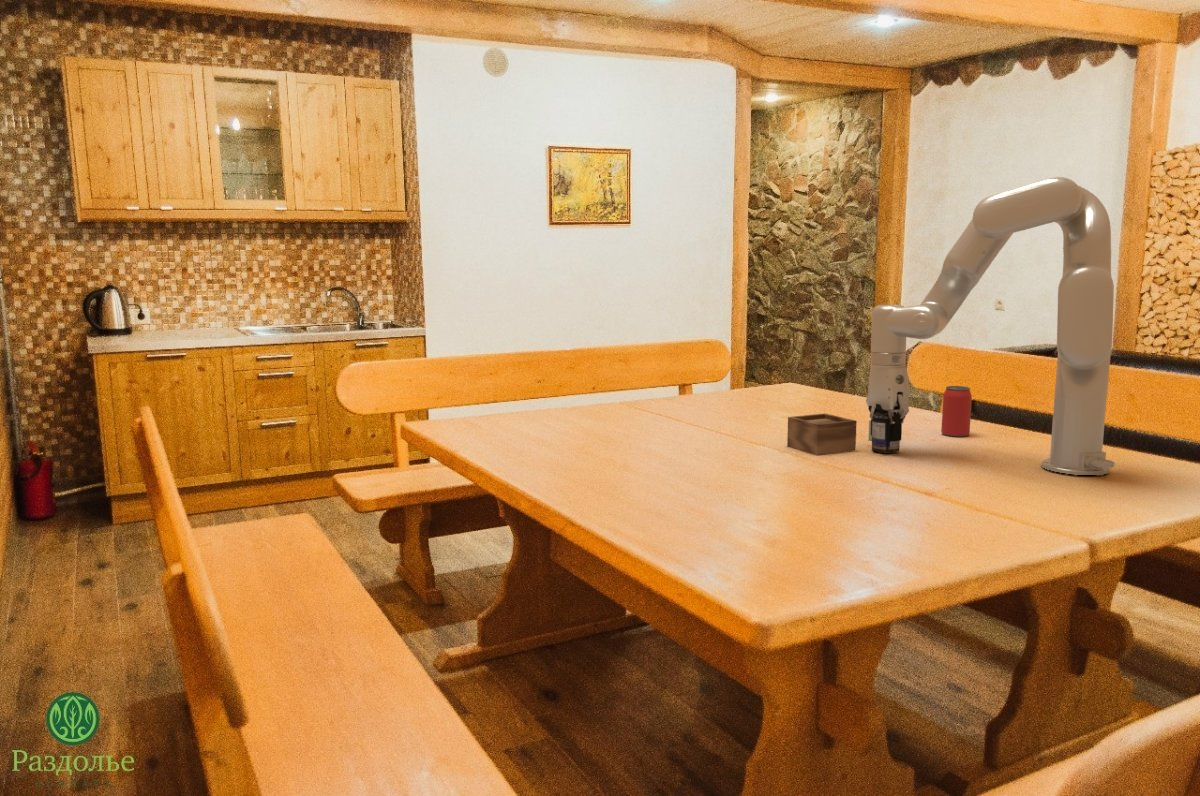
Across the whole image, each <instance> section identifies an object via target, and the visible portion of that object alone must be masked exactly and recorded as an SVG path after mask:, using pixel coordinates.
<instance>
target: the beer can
mask: <svg viewBox="0 0 1200 796" xmlns="http://www.w3.org/2000/svg"><path fill="white" fill-rule="evenodd" d="M970 389H971V388H970V387H968V386H964V385H962V386H961V385H950V386H949V385H948V386H946V387H945V390H944V392H943V395H942V410H941V411H942V413H941V429H940V430H941V433H942V435H943V436H946V437H951V436H952V438H953V437H954V438H965V437H967V436H969V435H970V433H971V432H970V431H971V417H972V415H971V413H972V400H973V399H972V397H973V396H972V392H971V390H970Z"/></svg>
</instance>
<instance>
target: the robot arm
mask: <svg viewBox="0 0 1200 796" xmlns="http://www.w3.org/2000/svg"><path fill="white" fill-rule="evenodd" d="M1051 223H1055V224H1058V225H1059V227H1060V228H1061V231H1062V237H1063V240H1062V241H1063V247H1062V250H1063V251H1062V252H1063V254H1062V255H1063V258H1062V259H1063V264H1062V277H1061V279H1060V281H1059V284H1058V287H1057V288H1058V289H1057V320H1056V322H1057V325H1056V350H1057V361H1056V374H1055V389H1054V396H1053V397H1054V399H1053V410H1052V411H1053V412H1052V422H1051V423H1052V426H1051V427H1052V428H1051V439H1050V450H1049V451H1050V452H1049V457H1048V458H1044V459H1042V460H1041V462H1040V463H1041V464H1040V466H1042V467H1041V468H1042V469H1044V468H1045V469H1044V470H1046V469H1047V470H1046V471H1049V470H1051V471H1050V472H1052V471H1055V472H1054V473H1056V472H1060V473H1059V474H1061V473H1067V474H1066V475H1068V474H1077V475H1101V476H1104V475H1103V474H1106V475H1108V474H1109V473H1110V469H1112V468H1114V467H1115V461H1114V460H1109V459H1106V458H1107V452H1106V451H1103V446H1104V437H1105V436H1104V435H1105V433H1104V432H1105V423H1106V408H1107V398H1108V389H1109V378H1110V367H1111V354H1112V347H1113V328H1114V327H1113V325H1114V297H1115V294H1114V293H1115V292H1114V291H1115V290H1114V289H1115V287H1114V281H1113V278H1112V230H1111V228H1112V227H1111V221H1110V216H1109V214H1108V211H1107V209H1106V207H1105V205H1104V204H1103V203H1102V201H1101V200H1100V199H1099V198H1098V196H1096V195H1095V194H1094V193H1093V192H1091V191H1090V190H1088V189H1086V188H1084V187H1082V186H1081V185H1078V184H1077V183H1076V182H1075V181H1074V180H1072V179H1070V178H1067V177H1064V176H1062V177H1061V176H1056V177H1055V176H1054V177H1050V178H1046V179H1043V180H1041V181H1037V182H1033V183H1030V184H1027V185H1023V186H1020V187H1017V188H1013V189H1010V190H1006V191H1003V192H999V193H995V194H992V195H989V196H986V197H985V198H983V199H981V200H980V201H979V202H978V203H977V205H976V206H975V208H974V209H973V212H972V219H971V220H970V222H969V223H968V224H967V226H966V228H965V229H964V230H963V232H962V233H961V235H960V236H959V237H958V239H957V240H956V242H955V243H954V245H953V246H952V247H951V249H950V250H949V252H947V255H946V256H945V258H944V260H943V263H942V268H941V271H940V273H939V276H938V277H937V279H936V281H935V283H934V284H933V286H932V287H931V288H930V290H929V292H927V295H926V296H925V297H924V299H922V302H921V303H920V304H917V305H911V306H904V305H902V304H879V305H876V306H875V307H873V309H872V312H871V334H870V335H871V336H870V338H871V339H870V340H871V341H870V342H871V343H870V344H871V345H870V370H869V375H868V386H867V387H868V388H867V397H866V398H865V402H866V405H867V407H868V411H869V418H870V420H871V435H872V416H873V414H874V413H876V412H877V410H876V404H880V405H881V407H882V409H883V410H885V411H888V415H889V420H890V424H888V441H902V429H903V428H902V427H903V424H904V420H905V418H906V417H907V415H908V414H909V412H910V409H909V408H910V387H909V386H910V385H909V376H908V375H909V374H908V368H907V367H906V364H907V363H906V361H907V360H906V358H907V357H906V355H907V338H909V339H915V340H928V339H931V338H932V337H935V336H936V335H938V334H940V333H942V332H943V330H945V328H946V327H947V325H948V324H949V323H950V321H951V320H952V319H953V317H954V316H955V314H956V313H957V312H958V311H959V309H960V308H961V306H962V305H963V304H964V302H965V300H966V299H967V297H968V296H969V294H970V293H971V292H972V291H973V289H974V288H975V287H976V286H977V284H978V283H979V282H980V280H981V278H982V277H983V275H985V273H986V271H987V270H988V269H989V267H990V266H991V265H992V263H993V262H994V260H995V259H996V257H997V256H998V254H999V253H1000V252H1001V250H1002V249H1003V248H1004V246H1005V245H1006V244H1007V242H1008V241H1009V239H1010V238H1011V237H1012V235H1013V234H1014V233H1015V234H1016V233H1018V232H1022V231H1026V230H1029V229H1033V228H1037V227H1040V226H1041V227H1042V226H1043V225H1047V224H1051ZM894 408H897V409H895V410H893V409H894ZM893 413H897V414H896V415H895V417H894V414H893ZM1107 473H1108V474H1107ZM1077 475H1076V476H1077Z"/></svg>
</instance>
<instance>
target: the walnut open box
mask: <svg viewBox="0 0 1200 796" xmlns="http://www.w3.org/2000/svg"><path fill="white" fill-rule="evenodd" d="M857 422H858V421H857V420H855V419H850V418H847V417H842V416H838V415H833V414H829V413H815V414H806V415H796V416H788V417H787V439H786V440H787V444H786V446H787V447H789V448H792V449H796V450H799V451H802V452H805V453H809V454H812V455H815V456H822V455H830V454H839V453H846V452H847V453H848V452H855V451H856V447H857V446H856V443H857Z"/></svg>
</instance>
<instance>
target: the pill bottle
mask: <svg viewBox="0 0 1200 796" xmlns="http://www.w3.org/2000/svg"><path fill="white" fill-rule="evenodd" d="M895 409H897V408H894V409H893V410H895ZM876 410H877V412H876V413H874V414H873V416H872V418H871V419H872V441H871V450H872V451H873V452H877V453H878V454H879V453H881V454H882V453H883V454H890V453H891V454H892V453H897V452H899V451H900V445H901V443H900V441H901V440H900V441H888V424H890V420H889V415H888V411H885V410H883V409H882V407H881V405H880V404H876ZM893 414H894V417H895V415H896V414H897V413H893Z"/></svg>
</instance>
